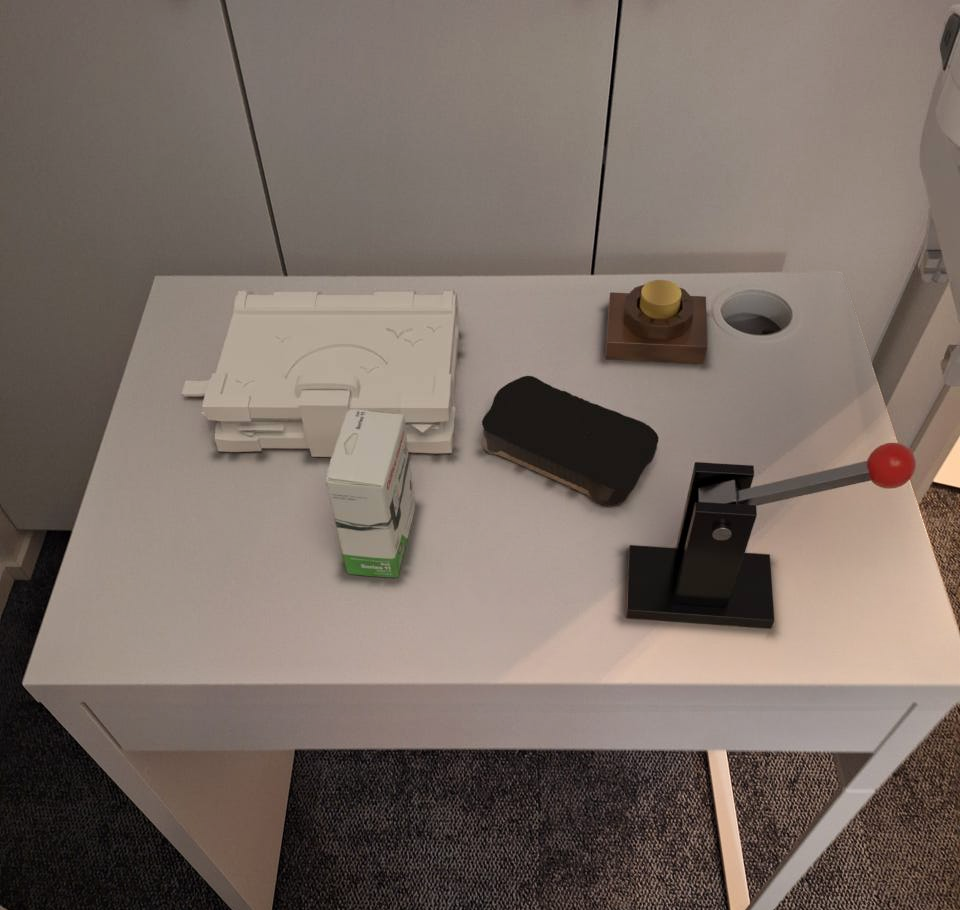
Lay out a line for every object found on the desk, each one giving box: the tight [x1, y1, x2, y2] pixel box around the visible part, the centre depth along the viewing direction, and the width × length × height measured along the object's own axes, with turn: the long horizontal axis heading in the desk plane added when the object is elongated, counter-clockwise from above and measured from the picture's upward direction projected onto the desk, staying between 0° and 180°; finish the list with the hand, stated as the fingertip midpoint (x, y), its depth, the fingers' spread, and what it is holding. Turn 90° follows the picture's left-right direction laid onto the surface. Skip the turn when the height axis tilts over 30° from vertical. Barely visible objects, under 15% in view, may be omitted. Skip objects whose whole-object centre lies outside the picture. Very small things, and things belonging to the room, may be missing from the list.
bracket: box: [625, 461, 776, 630], centre depth 76 cm, size 12×7×13 cm, turn 84°
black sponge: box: [481, 375, 660, 507], centre depth 89 cm, size 16×8×4 cm, turn 56°
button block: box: [605, 284, 708, 365], centre depth 97 cm, size 10×8×4 cm
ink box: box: [325, 407, 416, 579], centre depth 80 cm, size 9×5×12 cm, turn 171°
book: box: [181, 289, 460, 458], centre depth 93 cm, size 19×28×8 cm
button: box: [640, 279, 682, 319], centre depth 95 cm, size 4×4×2 cm
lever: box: [698, 442, 917, 507], centre depth 69 cm, size 15×3×3 cm, turn 84°
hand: (943, 325), depth 57 cm, fingers open, 8 cm apart
